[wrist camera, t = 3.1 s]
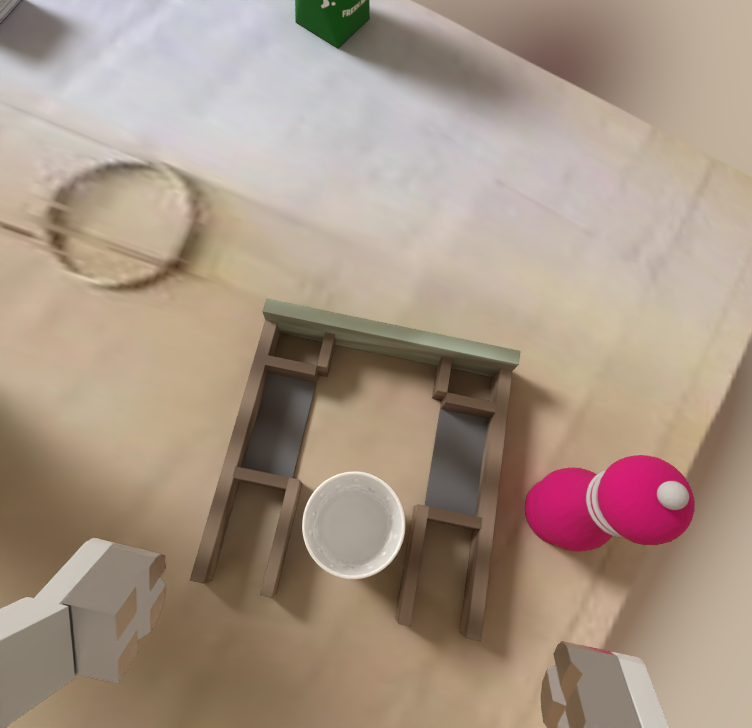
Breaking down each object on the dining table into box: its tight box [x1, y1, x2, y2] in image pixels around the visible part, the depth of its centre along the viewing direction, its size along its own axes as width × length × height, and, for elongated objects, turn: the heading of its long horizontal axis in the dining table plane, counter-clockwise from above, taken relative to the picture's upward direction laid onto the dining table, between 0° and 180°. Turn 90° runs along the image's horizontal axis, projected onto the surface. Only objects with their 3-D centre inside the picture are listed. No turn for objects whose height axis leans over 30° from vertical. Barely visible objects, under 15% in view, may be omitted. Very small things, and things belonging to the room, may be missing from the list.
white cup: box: [302, 472, 405, 579], centre depth 45 cm, size 8×8×10 cm
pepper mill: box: [525, 455, 694, 551], centre depth 42 cm, size 7×7×20 cm
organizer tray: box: [190, 299, 520, 641], centre depth 49 cm, size 26×25×5 cm
